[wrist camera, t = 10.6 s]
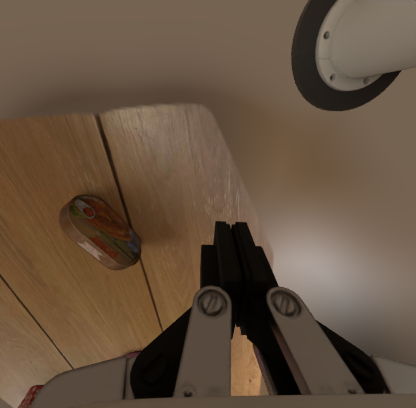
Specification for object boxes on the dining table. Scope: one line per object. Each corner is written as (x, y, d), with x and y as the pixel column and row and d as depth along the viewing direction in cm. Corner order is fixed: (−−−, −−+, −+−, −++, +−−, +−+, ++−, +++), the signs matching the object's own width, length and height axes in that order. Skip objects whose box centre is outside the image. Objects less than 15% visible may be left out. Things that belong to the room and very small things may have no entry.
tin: (146, 243, 39) (134, 275, 32) (134, 250, 40) (120, 282, 32) (89, 186, 33) (58, 208, 26) (76, 195, 34) (42, 219, 26)
